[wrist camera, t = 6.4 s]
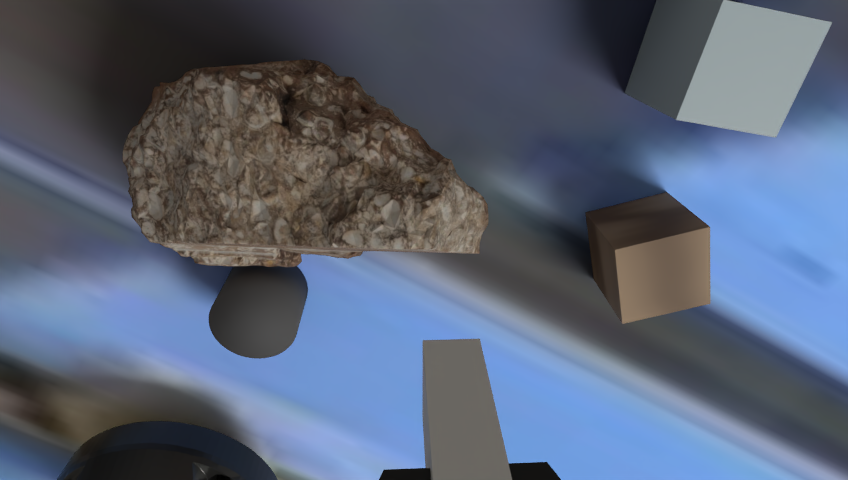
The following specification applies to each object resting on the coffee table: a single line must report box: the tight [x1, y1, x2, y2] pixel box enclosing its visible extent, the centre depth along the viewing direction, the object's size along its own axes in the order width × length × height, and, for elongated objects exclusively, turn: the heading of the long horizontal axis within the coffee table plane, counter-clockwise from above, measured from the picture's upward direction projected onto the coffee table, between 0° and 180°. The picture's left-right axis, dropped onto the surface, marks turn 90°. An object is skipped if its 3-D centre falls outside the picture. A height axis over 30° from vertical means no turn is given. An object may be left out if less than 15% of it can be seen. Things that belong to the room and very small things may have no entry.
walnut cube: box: [585, 192, 710, 324], centre depth 31 cm, size 5×5×5 cm
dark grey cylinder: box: [209, 266, 308, 358], centre depth 32 cm, size 5×5×4 cm
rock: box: [123, 59, 488, 267], centre depth 25 cm, size 18×10×10 cm
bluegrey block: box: [625, 0, 832, 137], centre depth 25 cm, size 5×5×6 cm
